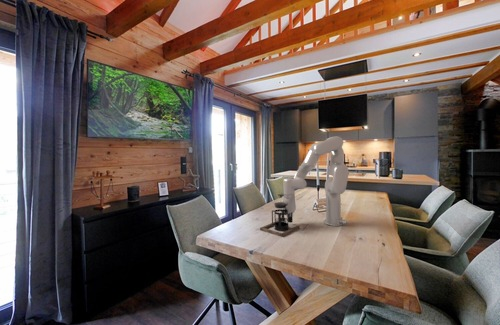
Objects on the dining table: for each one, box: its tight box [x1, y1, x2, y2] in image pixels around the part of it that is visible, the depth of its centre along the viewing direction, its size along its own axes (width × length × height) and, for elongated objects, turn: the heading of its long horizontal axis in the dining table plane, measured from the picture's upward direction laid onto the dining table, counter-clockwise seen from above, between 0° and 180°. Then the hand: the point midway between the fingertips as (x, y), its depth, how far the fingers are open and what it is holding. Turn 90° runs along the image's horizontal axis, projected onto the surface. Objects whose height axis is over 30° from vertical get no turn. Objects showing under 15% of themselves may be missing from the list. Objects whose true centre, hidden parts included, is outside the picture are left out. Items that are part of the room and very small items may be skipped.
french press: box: [271, 193, 290, 232], centre depth 142 cm, size 12×9×23 cm
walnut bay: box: [259, 221, 301, 238], centre depth 142 cm, size 18×20×2 cm
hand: (290, 222), depth 150 cm, fingers closed
